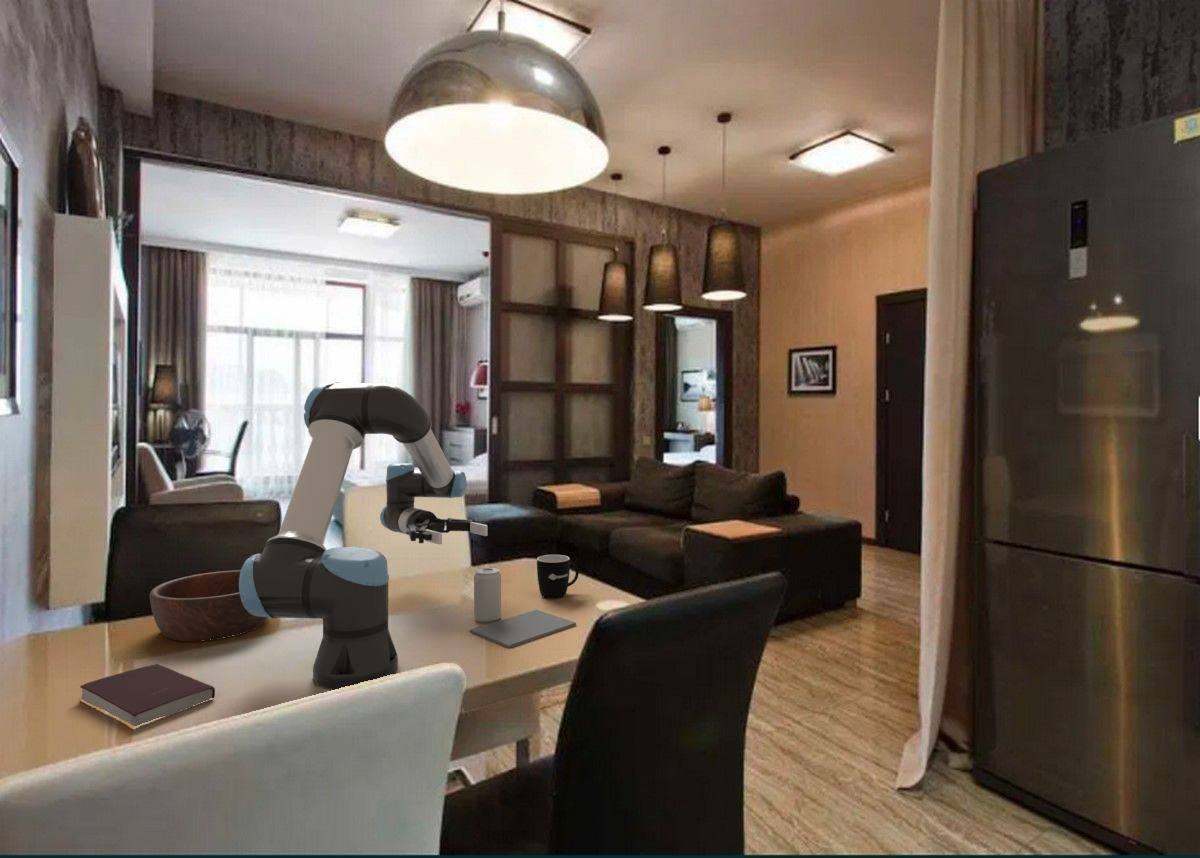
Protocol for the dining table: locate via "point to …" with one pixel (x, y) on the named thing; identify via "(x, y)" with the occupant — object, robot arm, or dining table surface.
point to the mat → (522, 628)
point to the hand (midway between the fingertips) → (464, 534)
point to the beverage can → (487, 595)
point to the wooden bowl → (202, 607)
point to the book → (146, 693)
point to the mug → (554, 575)
